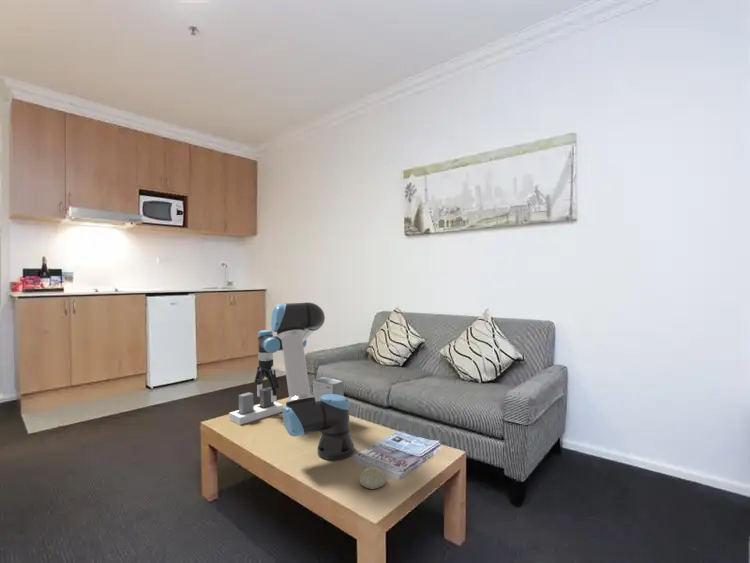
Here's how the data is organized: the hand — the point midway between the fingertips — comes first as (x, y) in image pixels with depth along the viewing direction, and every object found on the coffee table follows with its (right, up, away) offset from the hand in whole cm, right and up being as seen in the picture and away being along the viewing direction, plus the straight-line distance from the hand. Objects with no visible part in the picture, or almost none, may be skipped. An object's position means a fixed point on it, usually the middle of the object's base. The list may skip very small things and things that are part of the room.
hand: (266, 398), depth 211 cm
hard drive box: (+34, -7, -11) cm, 37 cm away
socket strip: (-4, -7, -4) cm, 9 cm away
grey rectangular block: (0, -7, 0) cm, 7 cm away
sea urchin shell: (+57, -9, -72) cm, 92 cm away
